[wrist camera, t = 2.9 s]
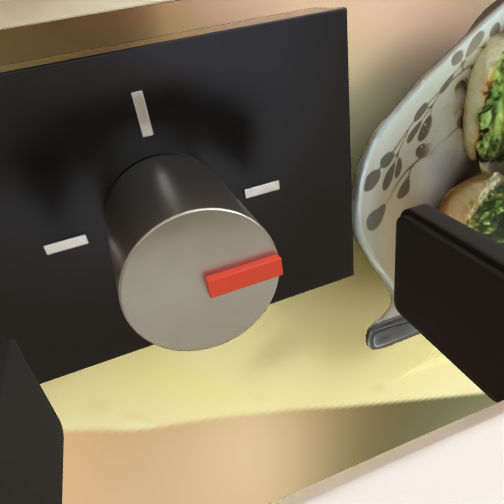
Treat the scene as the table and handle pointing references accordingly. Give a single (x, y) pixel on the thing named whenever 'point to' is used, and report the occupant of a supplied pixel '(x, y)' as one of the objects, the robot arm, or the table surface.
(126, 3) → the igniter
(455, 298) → the robot arm
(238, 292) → the stove knob
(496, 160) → the salad plate
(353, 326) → the table surface
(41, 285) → the hob panel
